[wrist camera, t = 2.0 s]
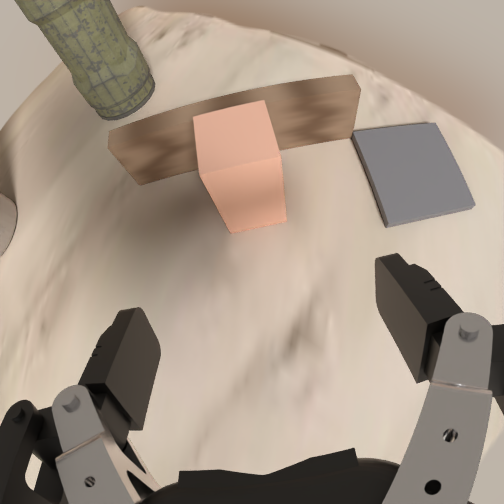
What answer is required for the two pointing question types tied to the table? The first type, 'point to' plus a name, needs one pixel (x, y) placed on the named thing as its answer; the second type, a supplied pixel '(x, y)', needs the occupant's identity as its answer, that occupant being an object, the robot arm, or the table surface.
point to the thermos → (95, 53)
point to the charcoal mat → (412, 173)
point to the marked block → (241, 165)
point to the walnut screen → (276, 99)
